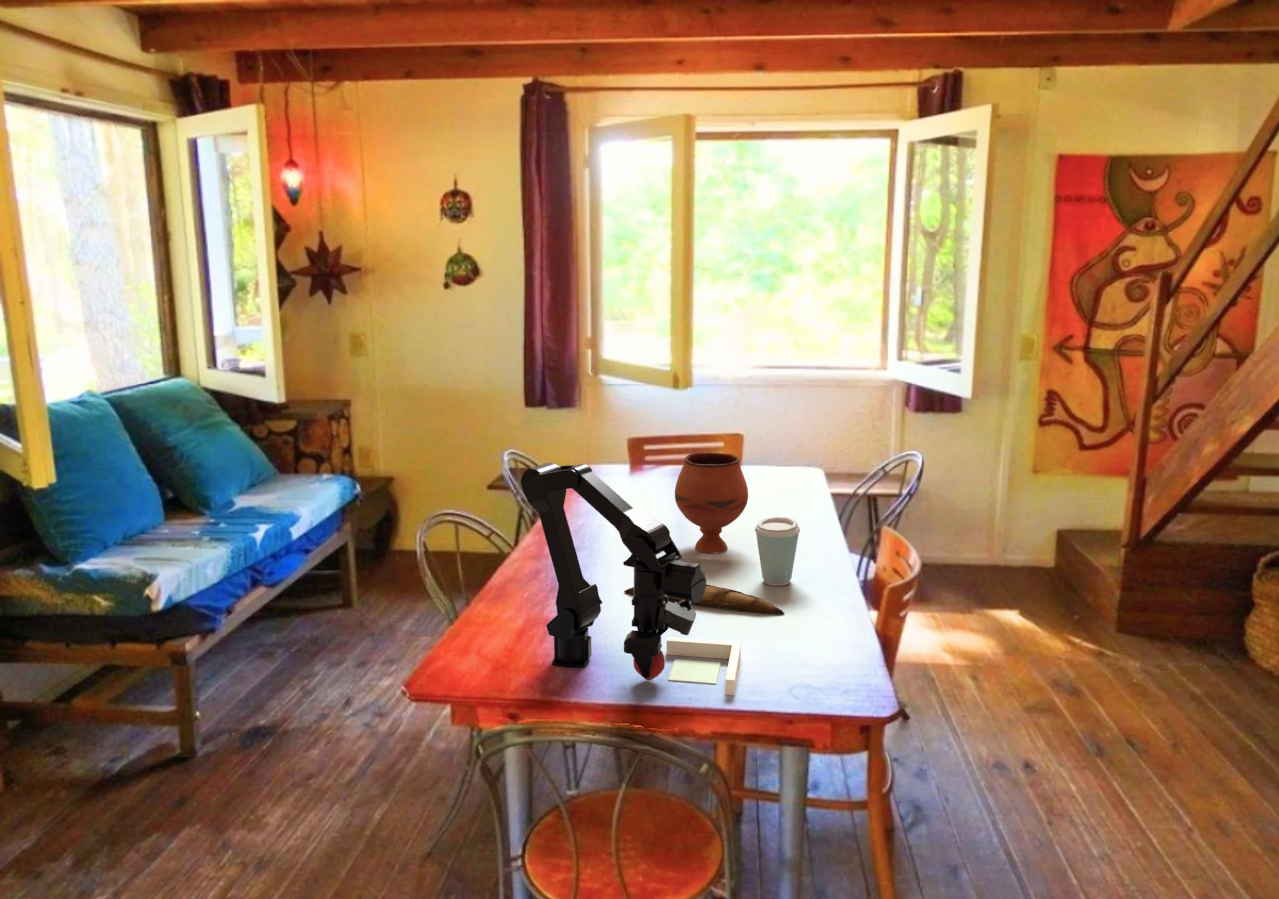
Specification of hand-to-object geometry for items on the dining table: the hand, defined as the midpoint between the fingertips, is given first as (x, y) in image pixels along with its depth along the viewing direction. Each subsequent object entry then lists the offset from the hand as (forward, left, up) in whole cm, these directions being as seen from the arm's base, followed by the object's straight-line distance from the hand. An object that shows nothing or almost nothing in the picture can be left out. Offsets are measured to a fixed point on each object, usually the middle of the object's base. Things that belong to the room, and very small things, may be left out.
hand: (649, 669), depth 177 cm
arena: (+8, +5, -2) cm, 10 cm away
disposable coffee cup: (+22, +57, -2) cm, 61 cm away
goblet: (+4, +79, -2) cm, 80 cm away
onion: (0, 0, -2) cm, 2 cm away
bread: (+6, +41, -3) cm, 41 cm away
